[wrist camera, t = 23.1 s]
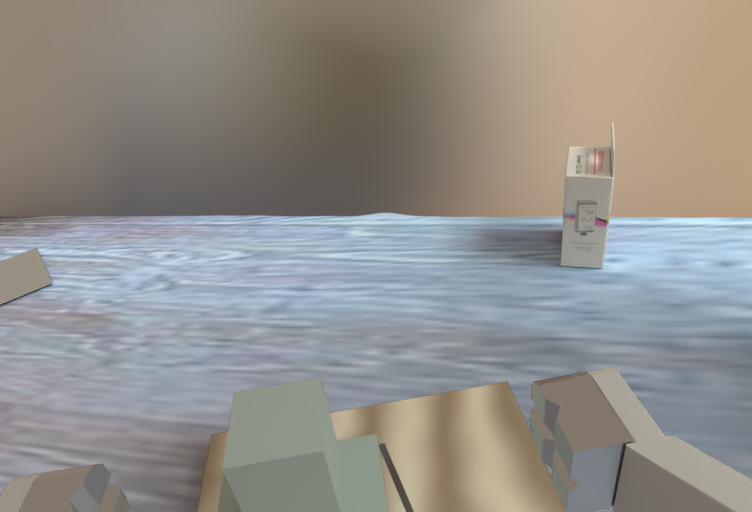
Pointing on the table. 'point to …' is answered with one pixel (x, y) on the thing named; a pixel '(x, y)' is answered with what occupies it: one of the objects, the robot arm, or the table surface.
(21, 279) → the paper stack
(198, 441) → the table surface
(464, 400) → the birch board
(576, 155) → the ink cartridge box
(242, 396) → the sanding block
